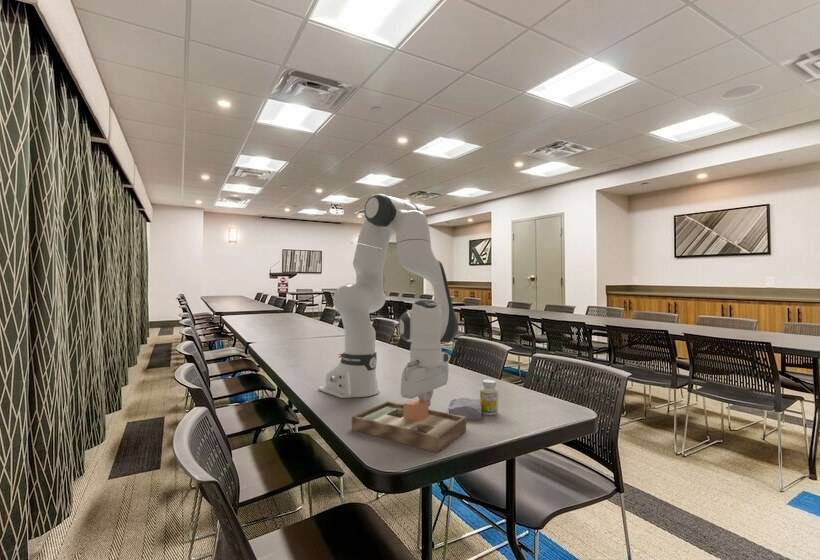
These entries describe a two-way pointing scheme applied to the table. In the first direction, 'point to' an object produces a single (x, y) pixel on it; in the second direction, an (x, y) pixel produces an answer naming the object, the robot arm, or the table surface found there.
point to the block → (416, 410)
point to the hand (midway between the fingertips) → (425, 406)
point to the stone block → (466, 408)
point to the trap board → (410, 426)
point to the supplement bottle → (489, 397)
